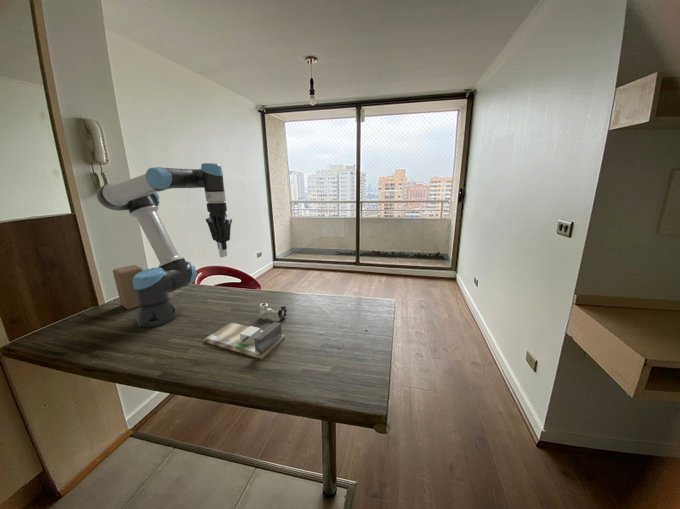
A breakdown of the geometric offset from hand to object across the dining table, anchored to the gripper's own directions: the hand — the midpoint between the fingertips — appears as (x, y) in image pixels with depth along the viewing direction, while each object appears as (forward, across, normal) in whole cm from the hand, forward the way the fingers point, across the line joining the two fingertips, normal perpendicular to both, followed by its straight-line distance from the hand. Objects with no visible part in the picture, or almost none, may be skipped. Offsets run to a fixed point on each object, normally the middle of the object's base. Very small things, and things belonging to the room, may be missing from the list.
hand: (223, 256), depth 116 cm
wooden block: (+30, -57, -9) cm, 65 cm away
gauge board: (+29, +20, -13) cm, 38 cm away
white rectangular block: (+28, +23, -14) cm, 39 cm away
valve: (+30, +19, +6) cm, 36 cm away
